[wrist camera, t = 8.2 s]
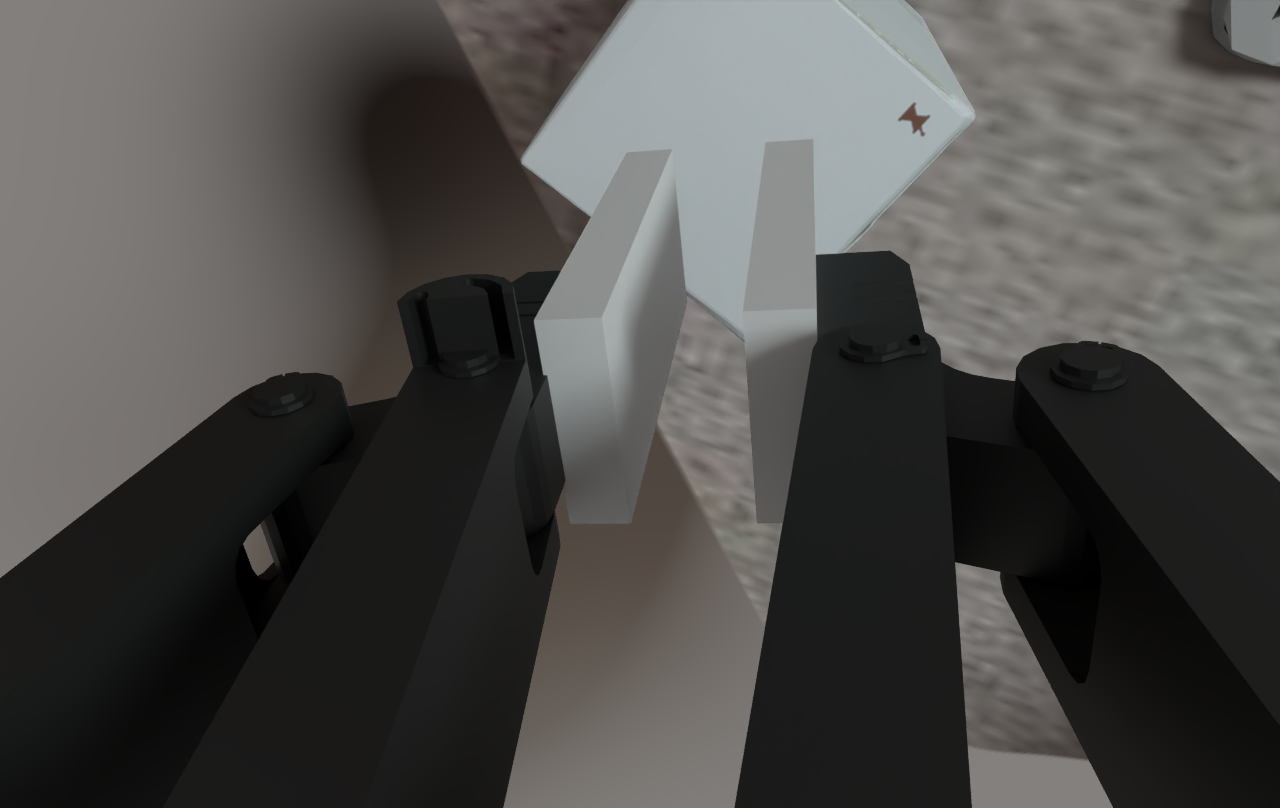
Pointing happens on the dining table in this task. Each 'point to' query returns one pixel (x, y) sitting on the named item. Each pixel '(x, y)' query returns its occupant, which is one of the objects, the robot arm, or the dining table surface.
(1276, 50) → the pulley system
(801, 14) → the supplement box
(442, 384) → the robot arm
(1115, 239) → the dining table surface
